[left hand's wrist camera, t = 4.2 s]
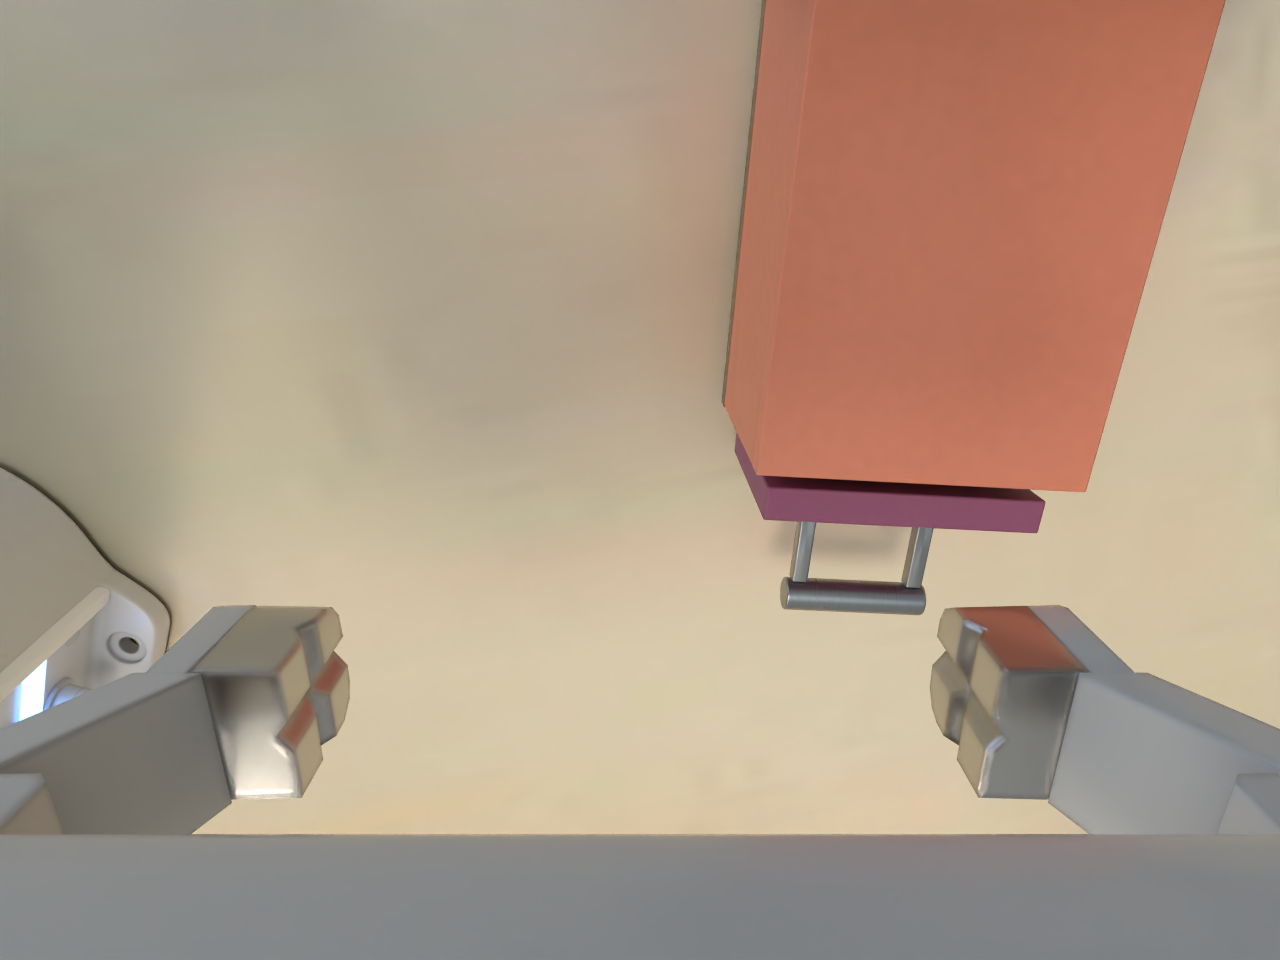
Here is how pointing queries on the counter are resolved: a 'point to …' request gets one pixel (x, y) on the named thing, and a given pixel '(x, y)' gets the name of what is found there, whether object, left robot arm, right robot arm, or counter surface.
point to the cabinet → (951, 231)
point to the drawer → (884, 508)
